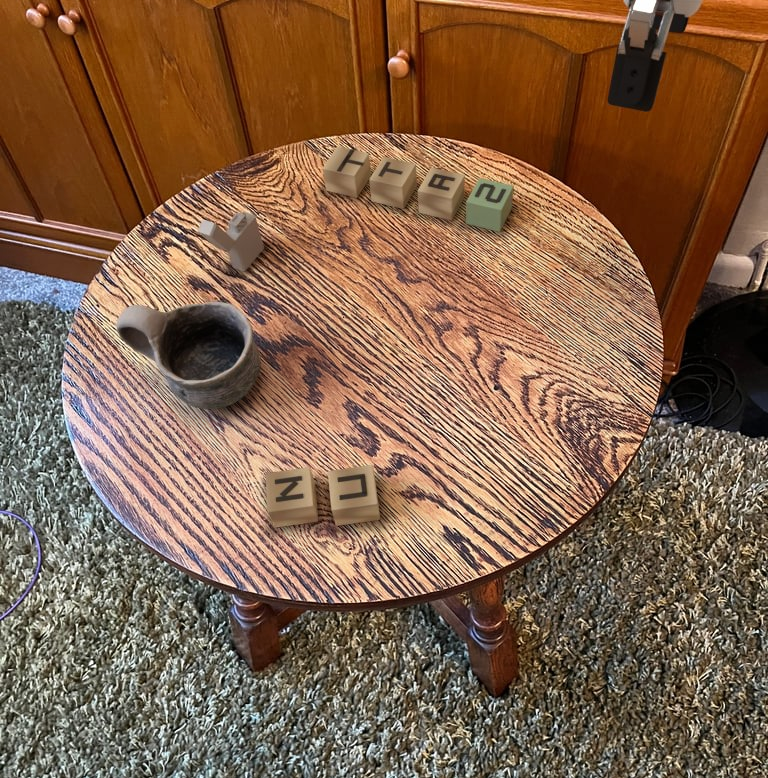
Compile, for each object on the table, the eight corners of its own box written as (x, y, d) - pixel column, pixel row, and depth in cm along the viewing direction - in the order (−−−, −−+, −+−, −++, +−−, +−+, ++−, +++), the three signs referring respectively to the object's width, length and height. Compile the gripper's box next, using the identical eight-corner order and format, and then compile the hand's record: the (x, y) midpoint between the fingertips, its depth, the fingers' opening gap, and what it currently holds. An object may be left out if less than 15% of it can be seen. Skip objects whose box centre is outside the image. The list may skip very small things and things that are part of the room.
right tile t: (417, 186, 88) (416, 162, 86) (403, 209, 87) (402, 186, 84) (385, 178, 89) (383, 155, 87) (371, 201, 88) (368, 178, 85)
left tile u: (375, 481, 70) (372, 463, 67) (380, 519, 68) (377, 503, 66) (332, 487, 70) (327, 470, 68) (336, 526, 68) (331, 509, 66)
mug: (263, 425, 74) (237, 357, 65) (137, 428, 75) (95, 362, 66) (272, 346, 79) (250, 274, 70) (153, 350, 80) (116, 279, 71)
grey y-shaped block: (252, 242, 86) (234, 181, 79) (265, 246, 86) (248, 186, 79) (216, 285, 83) (194, 226, 76) (229, 290, 83) (209, 231, 76)
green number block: (512, 208, 86) (514, 184, 83) (500, 232, 84) (501, 209, 81) (478, 200, 87) (479, 176, 84) (465, 223, 85) (466, 200, 82)
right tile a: (464, 197, 87) (465, 173, 84) (451, 220, 85) (451, 197, 83) (431, 189, 88) (431, 166, 85) (418, 213, 86) (417, 189, 84)
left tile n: (315, 483, 71) (309, 465, 68) (318, 521, 69) (313, 505, 66) (272, 489, 71) (265, 472, 68) (274, 528, 69) (267, 511, 66)
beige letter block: (372, 176, 90) (370, 152, 87) (358, 198, 88) (355, 175, 85) (340, 168, 91) (337, 145, 88) (326, 190, 89) (322, 167, 86)
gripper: (757, -161, 38) (669, 150, 53) (817, -300, 45) (724, 9, 60) (605, -176, 39) (562, 128, 54) (686, -307, 46) (628, -6, 61)
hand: (647, 65), depth 57 cm, fingers open, 9 cm apart
